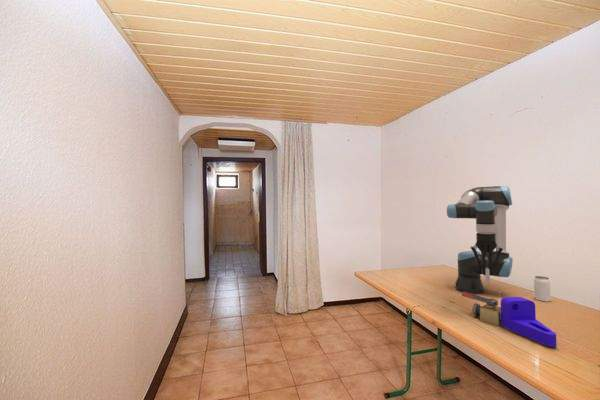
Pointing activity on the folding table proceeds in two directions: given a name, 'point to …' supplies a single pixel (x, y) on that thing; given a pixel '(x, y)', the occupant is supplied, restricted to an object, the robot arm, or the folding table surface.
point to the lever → (480, 298)
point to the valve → (487, 313)
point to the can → (542, 288)
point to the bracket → (525, 320)
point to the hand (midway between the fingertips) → (487, 281)
